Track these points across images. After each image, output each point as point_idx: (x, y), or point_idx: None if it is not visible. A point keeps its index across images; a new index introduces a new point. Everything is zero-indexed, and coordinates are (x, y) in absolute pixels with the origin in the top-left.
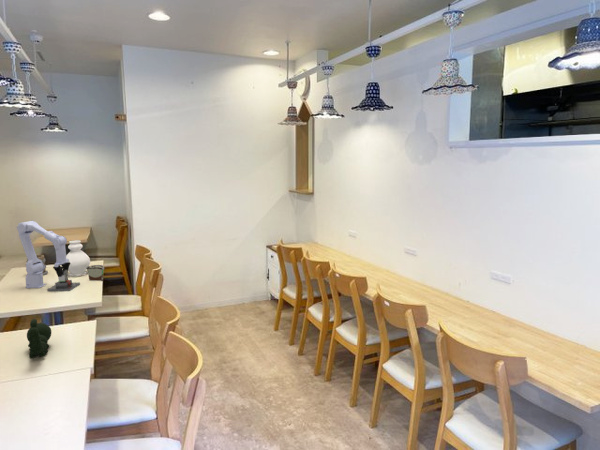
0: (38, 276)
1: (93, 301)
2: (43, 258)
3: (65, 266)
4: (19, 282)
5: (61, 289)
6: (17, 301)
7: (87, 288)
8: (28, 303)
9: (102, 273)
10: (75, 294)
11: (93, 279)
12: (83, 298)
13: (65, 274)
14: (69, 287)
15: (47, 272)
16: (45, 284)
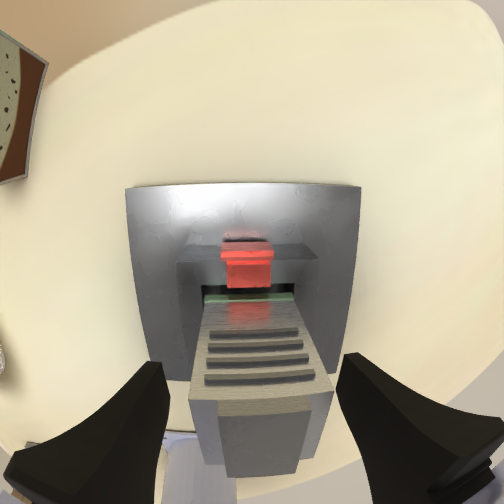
0: (221, 497)
1: (485, 16)
2: (22, 496)
3: (131, 479)
4: (156, 492)
5: (353, 265)
6: (450, 380)
7: (275, 51)
8: (492, 315)
9: (7, 42)
10: (429, 106)
11: (25, 136)
12: (473, 52)
13: (276, 348)
14: (314, 209)
15: (30, 444)
16: (173, 432)
